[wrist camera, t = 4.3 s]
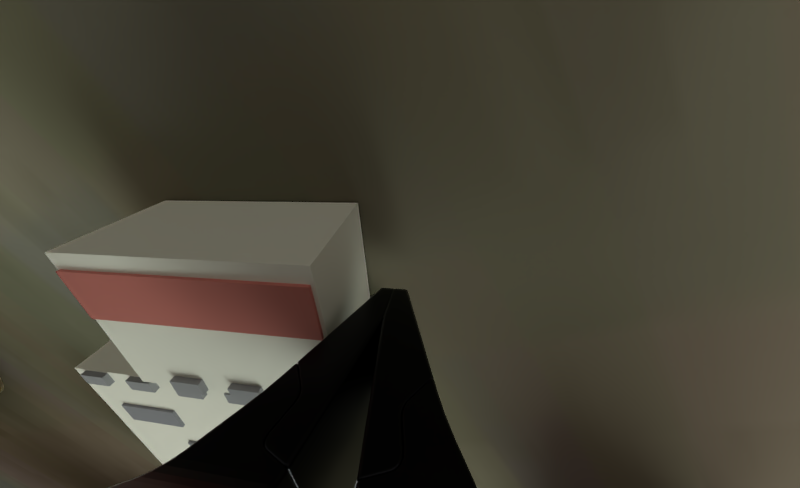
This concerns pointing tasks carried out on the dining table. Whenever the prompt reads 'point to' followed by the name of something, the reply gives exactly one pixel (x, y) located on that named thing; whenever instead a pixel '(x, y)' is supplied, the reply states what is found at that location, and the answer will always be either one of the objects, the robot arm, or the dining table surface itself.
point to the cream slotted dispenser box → (155, 404)
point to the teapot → (1, 385)
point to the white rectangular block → (219, 287)
